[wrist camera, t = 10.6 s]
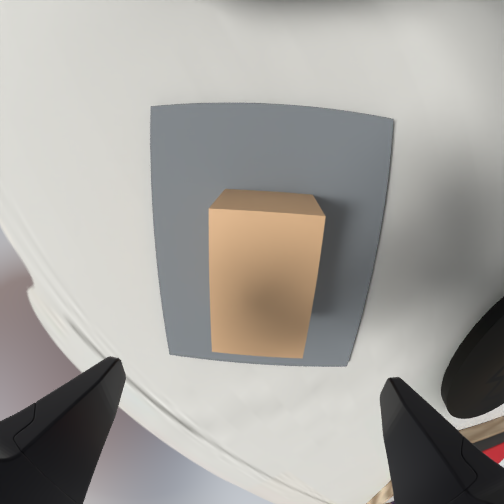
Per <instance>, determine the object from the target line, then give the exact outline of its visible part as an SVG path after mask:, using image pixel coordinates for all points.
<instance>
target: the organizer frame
mask: <svg viewBox="0 0 504 504" xmlns="http://www.w3.org/2000/svg"><path fill="white" fill-rule="evenodd" d="M459 432H460V433H461V434H462V435H463V436H465V437H466V438H467V439H468V440H469V441H470V442H471V443H475V442H478V441H481V440H483V439H486V438H489V437H491V436H494V435H497V434H499V433H501V432H504V416H502V417H499V418H497V419H494V420H491V421H488V422H485V423H482V424H479V425H476V426H473V427H469V428H466V429H462V430H459ZM392 496H393V489H392V482H391V481H390V482H389V483H388V484H387V485H386V486H385V487H384V488H383V489H382V490H381V491H380V492H379V493H378V494H377V495H375V496H374V497H373V498H372V499H371V500H370V501H369V502H368V503H367V504H384V503H385V502H386V501H387V500H389V499H390V498H391V497H392ZM386 504H391V503H386Z"/></svg>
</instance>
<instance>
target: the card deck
mask: <svg viewBox="0 0 504 504" xmlns="http://www.w3.org/2000/svg"><path fill="white" fill-rule="evenodd" d="M325 217H326V216H325V214H324V213H323V211H322V209H321V208H320V206H319V204H318V203H317V201H316V199H315V198H314V196H313V195H311V194H299V193H286V192H272V191H256V190H238V189H225V190H224V191H223V192H222V193H221V194H220V196H219V197H218V198H217V199H216V200H215V202H214V203H213V204H212V205H211V206H210V208H209V285H210V318H211V343H212V352H219V353H228V354H239V355H251V356H264V357H281V358H303V354H304V349H305V344H306V338H307V333H308V328H309V322H310V317H311V311H312V306H313V300H314V294H315V288H316V281H317V275H318V268H319V262H320V255H321V248H322V240H323V233H324V225H325Z"/></svg>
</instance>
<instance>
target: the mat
mask: <svg viewBox="0 0 504 504" xmlns="http://www.w3.org/2000/svg"><path fill="white" fill-rule="evenodd" d="M392 133H393V119H391V118H386V117H380V116H375V115H369V114H363V113H357V112H350V111H343V110H336V109H328V108H319V107H309V106H297V105H284V104H265V103H193V104H175V105H161V106H151V124H150V149H151V187H152V207H153V223H154V236H155V248H156V259H157V268H158V277H159V286H160V294H161V302H162V309H163V316H164V323H165V330H166V336H167V342H168V348H169V354H170V355H176V356H184V357H191V358H199V359H208V360H217V361H227V362H238V363H250V364H265V365H284V366H321V367H342V366H347V364H348V361H349V358H350V355H351V351H352V348H353V345H354V341H355V338H356V335H357V331H358V327H359V324H360V320H361V316H362V313H363V309H364V305H365V301H366V297H367V293H368V288H369V284H370V280H371V275H372V271H373V266H374V261H375V257H376V252H377V246H378V241H379V236H380V230H381V224H382V218H383V212H384V205H385V198H386V191H387V184H388V175H389V166H390V157H391V146H392ZM225 189H238V190H256V191H272V192H286V193H299V194H311V195H313V196H314V198H315V199H316V201H317V203H318V204H319V206H320V208H321V209H322V211H323V213H324V214H325V216H326V217H325V225H324V233H323V240H322V248H321V255H320V262H319V268H318V275H317V281H316V288H315V294H314V300H313V306H312V311H311V317H310V322H309V328H308V333H307V338H306V344H305V349H304V354H303V358H281V357H264V356H251V355H239V354H228V353H219V352H212V343H211V318H210V285H209V208H210V206H211V205H212V204H213V203H214V202H215V200H216V199H217V198H218V197H219V196H220V194H221V193H222V192H223V191H224V190H225Z"/></svg>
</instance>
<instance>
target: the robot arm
mask: <svg viewBox="0 0 504 504" xmlns="http://www.w3.org/2000/svg"><path fill="white" fill-rule="evenodd" d="M125 380H126V375H125V371H124V368H123V365H122V362H121V360H120V359H119V358H115V357H107V358H105V359H104V360H102V361H101V362H99V363H98V364H96V365H94V366H93V367H91V368H90V369H88V370H86V371H85V372H83V373H82V374H80V375H78V376H77V377H75V378H74V379H72V380H70V381H69V382H68V383H66V384H64V385H62V386H61V387H59V388H58V389H56V390H54V391H53V392H51V393H50V394H48V395H46V396H45V397H43V398H42V399H40V400H38V401H37V402H36V403H33V404H32V405H30V406H28V407H27V408H25V409H23V410H21V411H20V412H18V413H16V414H14V415H12V416H10V417H9V418H6V419H4V420H2V421H0V504H83V502H84V499H85V496H86V493H87V490H88V487H89V484H90V482H91V479H92V476H93V473H94V470H95V467H96V465H97V462H98V460H99V457H100V454H101V451H102V449H103V446H104V444H105V441H106V438H107V436H108V433H109V431H110V428H111V426H112V423H113V421H114V418H115V415H116V412H117V409H118V405H119V402H120V398H121V394H122V391H123V387H124V384H125ZM380 406H381V416H382V428H383V437H384V443H385V448H386V453H387V459H388V464H389V470H390V476H391V482H392V489H393V495H394V503H395V504H504V468H503V467H502V466H500V465H499V464H498V463H496V462H495V461H494V460H492V459H491V458H489V457H488V456H487V455H486V454H484V453H483V452H482V451H480V450H479V449H478V448H477V447H476V446H475V445H473V444H472V443H471V442H470V441H469V440H468V439H467V438H466V437H465V436H463V435H462V434H461V433H460V432H459V431H458V430H457V429H456V428H455V427H454V426H453V425H451V424H450V423H449V422H448V421H447V420H446V419H445V418H444V417H443V416H442V415H441V414H439V413H438V412H437V411H436V410H435V409H434V408H433V407H432V406H431V405H430V404H429V403H427V402H426V401H425V400H424V399H423V398H422V397H421V396H420V395H419V394H418V393H416V392H415V391H414V390H413V389H412V388H411V387H410V386H409V385H408V384H407V383H406V382H404V381H403V380H402V379H401V378H399V377H393V378H388V379H387V381H386V383H385V385H384V387H383V390H382V392H381V394H380Z"/></svg>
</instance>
